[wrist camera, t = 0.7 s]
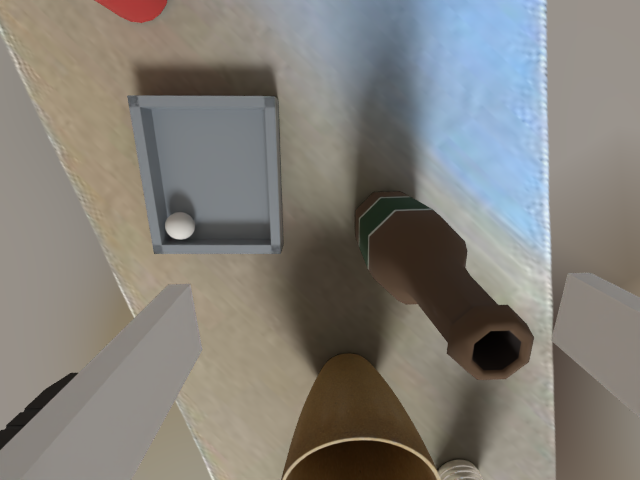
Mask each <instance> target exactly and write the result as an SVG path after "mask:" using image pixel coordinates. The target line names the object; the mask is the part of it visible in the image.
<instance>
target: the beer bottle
mask: <svg viewBox="0 0 640 480" xmlns="http://www.w3.org/2000/svg"><path fill="white" fill-rule="evenodd" d="M355 236H356V240H357V243H358V245H359V248H360V250H361V253H362V255H363V258H364V260H365V263H366V265H367V268H368V270H369V272H370V273H371V275H372V276H373V278H374V279H375V280H376V281H377V282H378V283H379V284H380V285H382V286H383V287H384V288H385V289H386V290H387V291H388V292H389V293H390V294H391V295H393V296H394V297H395V298H396V299H397V300H398V301H400V302H402V303H404V304H418V305H419V306H420V307H421V309H422V310H423V311H424V313H425V314H426V315H427V316H428V318H429V319H430V320H431V322H432V323H433V324H434V325H435V327H436V328H437V329H438V331H439V332H440V333H441V334H442V336H443V337H444V338H445V340H446V341H447V342H448V348H447V354H448V355H449V356H450V357H452V358H453V359H454V360H455V361H456V362H457V363H458V364H459V365H460V366H462V367H463V368H464V369H465V370H466V371H467V372H468V373H470V374H471V375H472V376H473V377H475V378H476V379H477V380H490V379H506V378H508V377H509V376H510V375H512V374H513V373H515V372H516V371H517V370H519V369H520V368H521V367H523V366H524V365H525V364H527V363H528V362H529V359H530V354H531V349H532V345H533V340H534V336H533V335H532V333H531V331H530V329H529V327H528V326H527V324H526V323H525V322H524V321H523V320H522V319H521V318H520V317H519V316H518V315H517V314H516V313H515V312H514V311H513V310H512V309H511V308H510V307H509V306H508V305H498V304H497V303H496V302H495V301H494V300H493V299H492V298H491V297H490V296H489V295H488V294H487V293H486V292H485V291H484V290H483V288H482V287H481V286H480V285H479V284H478V283H477V282H476V281H475V280H474V279H473V278H472V277H471V276H470V274H469V273H468V271H467V270H466V268H465V266H466V258H467V248H466V244H465V241H464V240H463V239H462V238H461V237H460V236H459V235H458V234H457V233H456V232H455V231H454V230H453V229H452V228H451V227H450V226H449V225H448V223H447V222H446V221H445V220H444V219H443V218H442V217H441V216H440V215H438V214H437V213H436V212H435V211H434V210H432V209H431V208H429V207H427V206H426V205H424V204H422V203H420V202H419V201H417V200H415V199H413V198H412V197H410V196H408V195H406V194H405V193H403V192H400V191H393V192H373V193H372V194H371V195H370V196H369V197H368V198H367V199H366V200H365V201H364V202H363V203H362V204H361V205H360V206H359V207H358V208H357V209H356V210H355Z"/></svg>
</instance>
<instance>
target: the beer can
mask: <svg viewBox="0 0 640 480" xmlns="http://www.w3.org/2000/svg"><path fill="white" fill-rule="evenodd" d="M95 1H97V2H98V3H100V4H101V5H103V6H104V7H106V8H108V9H109V10H111V11H112V12H114V13H115V14H117V15H118V16H120V17H122V18H124V19H126V20H129V21H131V22H140V23H143V22H146V21H150V20H153V19H154V18H155V17H157V16H158V15H159V14H161V12H162V11H163V9H164V7H165V6H166V4H167V0H95Z"/></svg>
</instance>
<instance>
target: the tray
mask: <svg viewBox="0 0 640 480" xmlns="http://www.w3.org/2000/svg"><path fill="white" fill-rule="evenodd" d="M127 97H128V103H129V108H130V114H131V120H132V126H133V132H134V138H135V144H136V150H137V156H138V162H139V168H140V174H141V179H142V185H143V191H144V197H145V203H146V209H147V215H148V221H149V227H150V233H151V239H152V244H153V250H154V254H281V251H282V248H283V218H282V189H281V161H280V132H279V103H278V99H277V98H276V97H275V96H127ZM177 212H183V213H186V214H188V215H190V216H191V217H192V219H193V220H194V223H195V230H194V232H193V234H192V235H191V236H190V237H188V238H186V239H175V238H173V237H171V236H170V235H169V234H168V233H167V231H166V229H165V222H166V220H167V218H168V217H169V216H170V215H172V214H173V213H177Z"/></svg>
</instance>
